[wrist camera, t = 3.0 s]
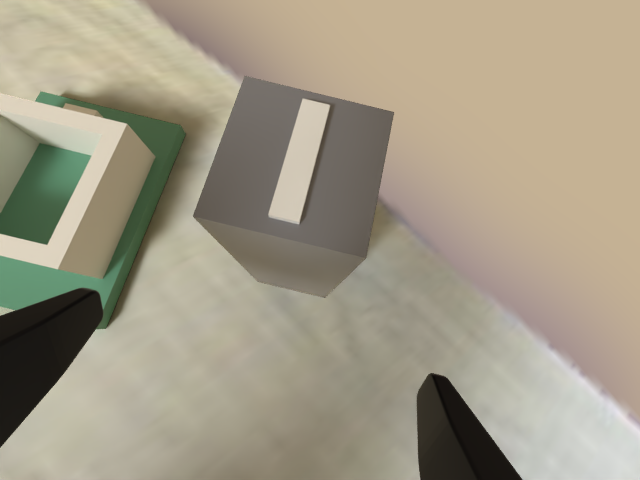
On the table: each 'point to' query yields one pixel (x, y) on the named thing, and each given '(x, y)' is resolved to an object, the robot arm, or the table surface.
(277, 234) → the plug
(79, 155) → the cream and green socket
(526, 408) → the table surface
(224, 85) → the table surface
